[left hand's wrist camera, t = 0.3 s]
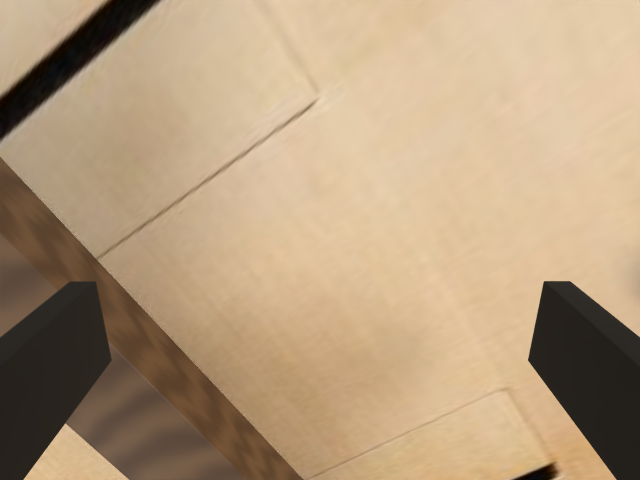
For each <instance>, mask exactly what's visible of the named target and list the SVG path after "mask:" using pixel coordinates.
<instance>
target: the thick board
mask: <svg viewBox="0 0 640 480" xmlns="http://www.w3.org/2000/svg"><path fill="white" fill-rule="evenodd" d="M70 281H96V284H97V289H98V294H99V299H100V304H101V309H102V313H103V318H104V323H105V328H106V333H107V338H108V343H109V348H110V353H111V358H112V361H111V362H110V364H109V365H108V366H107V368H106V369H105V370H104V372H103V373H102V374H101V376H100V377H99V378H98V380H97V381H96V382H95V384H94V385H93V386H92V388H91V389H90V391H89V392H88V393H87V395H86V396H85V397H84V399H83V400H82V401H81V403H80V404H79V405H78V407H77V408H76V409H75V411H74V412H73V413H72V415H71V416H70V417H69V419H68V420H67V421H66V424H67V425H68V426H69V427H70V428H72V429H73V430H74V431H75V432H76V433H77V434H78V435H79V436H81V437H82V438H83V439H84V440H85V441H86V442H87V443H88V444H90V445H91V446H92V447H93V448H94V449H95V450H96V451H98V452H99V453H100V454H101V455H102V456H103V457H104V458H105V459H107V460H108V461H109V462H110V463H111V464H112V465H113V466H114V467H116V468H117V469H118V470H119V471H120V472H121V473H122V474H124V475H125V476H126V477H127V478H128V479H129V480H303V479H302V478H301V477H300V476H299V475H298V474H297V473H296V472H295V471H294V470H293V469H292V468H291V466H290V465H289V464H288V463H287V462H286V461H285V460H284V459H283V458H282V457H281V456H280V455H279V454H278V453H277V452H276V450H275V449H274V448H273V447H272V446H271V445H270V444H269V443H268V442H267V441H266V440H265V439H264V438H263V437H262V436H261V435H260V433H259V432H258V431H257V430H256V429H255V428H254V427H253V426H252V425H251V424H250V423H249V422H248V421H247V420H246V419H245V417H244V416H243V415H242V414H241V413H240V412H239V411H238V410H237V409H236V408H235V407H234V406H233V405H232V404H231V403H230V402H229V400H228V399H227V398H226V397H225V396H224V395H223V394H222V393H221V392H220V391H219V390H218V389H217V388H216V387H215V386H214V384H213V383H212V382H211V381H210V380H209V379H208V378H207V377H206V376H205V375H204V374H203V373H202V372H201V371H200V370H199V369H198V367H197V366H196V365H195V364H194V363H193V362H192V361H191V360H190V359H189V358H188V357H187V356H186V355H185V354H184V353H183V351H182V350H181V349H180V348H179V347H178V346H177V345H176V344H175V343H174V342H173V341H172V340H171V339H170V338H169V337H168V336H167V334H166V333H165V332H164V331H163V330H162V329H161V328H160V327H159V326H158V325H157V324H156V323H155V322H154V321H153V320H152V318H151V317H150V316H149V315H148V314H147V313H146V312H145V311H144V310H143V309H142V308H141V307H140V306H139V305H138V304H137V303H136V301H135V300H134V299H133V298H132V297H131V296H130V295H129V294H128V293H127V292H126V291H125V290H124V289H123V288H122V287H121V285H120V284H119V283H118V282H117V281H116V280H115V279H114V278H113V277H112V276H111V275H110V274H109V273H108V272H107V271H106V270H105V268H104V267H103V266H102V265H101V264H100V263H99V262H98V261H97V260H96V259H95V258H94V257H93V256H92V255H91V254H90V252H89V251H88V250H87V249H86V248H85V247H84V246H83V245H82V244H81V243H80V242H79V241H78V240H77V239H76V238H75V237H74V235H73V234H72V233H71V232H70V231H69V230H68V229H67V228H66V227H65V226H64V225H63V224H62V223H61V222H60V221H59V220H58V218H57V217H56V216H55V215H54V214H53V213H52V212H51V211H50V210H49V209H48V208H47V207H46V206H45V205H44V204H43V202H42V201H41V200H40V199H39V198H38V197H37V196H36V195H35V194H34V193H33V192H32V191H31V190H30V189H29V188H28V187H27V185H26V184H25V183H24V182H23V181H22V180H21V179H20V178H19V177H18V176H17V175H16V174H15V173H14V172H13V171H12V169H11V168H10V167H9V166H8V165H7V164H6V163H5V162H4V161H3V160H2V159H1V158H0V337H1V336H3V335H4V334H5V333H6V332H8V331H9V330H10V329H11V328H12V327H14V326H15V325H16V324H17V323H19V322H20V321H21V320H22V319H24V318H25V317H26V316H27V315H29V314H30V313H31V312H32V311H34V310H35V309H36V308H37V307H39V306H40V305H41V304H42V303H44V302H45V301H46V300H47V299H49V298H50V297H51V296H52V295H54V294H55V293H56V292H57V291H59V290H60V289H61V288H62V287H63V286H65V285H66V284H67V283H68V282H70Z"/></svg>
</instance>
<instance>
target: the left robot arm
mask: <svg viewBox="0 0 640 480" xmlns="http://www.w3.org/2000/svg"><path fill="white" fill-rule="evenodd" d="M111 361H112V358H111V353H110V348H109V343H108V338H107V333H106V328H105V323H104V318H103V313H102V309H101V304H100V299H99V294H98V289H97V284H96V281H70V282H68V283H67V284H66V285H65V286H63V287H62V288H61V289H60V290H59V291H57V292H56V293H55V294H54V295H52V296H51V297H50V298H49V299H47V300H46V301H45V302H44V303H42V304H41V305H40V306H39V307H37V308H36V309H35V310H34V311H32V312H31V313H30V314H29V315H27V316H26V317H25V318H24V319H22V320H21V321H20V322H19V323H17V324H16V325H15V326H14V327H12V328H11V329H10V330H9V331H8V332H6V333H5V334H4V335H3V336H1V337H0V480H23V479H24V478H25V477H26V475H27V474H28V473H29V471H30V470H31V469H32V467H33V466H34V465H35V463H36V462H37V461H38V459H39V458H40V456H41V455H42V454H43V452H44V451H45V450H46V448H47V447H48V446H49V444H50V443H51V442H52V440H53V439H54V438H55V436H56V435H57V434H58V432H59V431H60V430H61V428H62V427H63V426H64V424H65V423H66V421H67V420H68V419H69V417H70V416H71V415H72V413H73V412H74V411H75V409H76V408H77V407H78V405H79V404H80V403H81V401H82V400H83V399H84V397H85V396H86V395H87V393H88V392H89V391H90V389H91V388H92V386H93V385H94V384H95V382H96V381H97V380H98V378H99V377H100V376H101V374H102V373H103V372H104V370H105V369H106V368H107V366H108V365H109V364H110V362H111ZM528 361H529V362H530V364H531V365H532V366H533V368H534V369H535V370H536V372H537V373H538V374H539V376H540V377H541V378H542V380H543V381H544V382H545V384H546V385H547V386H548V388H549V389H550V391H551V392H552V393H553V395H554V396H555V397H556V399H557V400H558V401H559V403H560V404H561V405H562V407H563V408H564V409H565V411H566V412H567V413H568V415H569V416H570V417H571V419H572V420H573V421H574V423H575V424H576V426H577V427H578V428H579V430H580V431H581V432H582V434H583V435H584V436H585V438H586V439H587V440H588V442H589V443H590V444H591V446H592V447H593V448H594V450H595V451H596V452H597V454H598V455H599V456H600V458H601V459H602V461H603V462H604V463H605V465H606V466H607V467H608V469H609V470H610V471H611V473H612V474H613V475H614V477H615V478H616V479H617V480H640V337H639V336H637V335H636V334H635V333H634V332H632V331H631V330H630V329H629V328H628V327H626V326H625V325H624V324H623V323H621V322H620V321H619V320H618V319H616V318H615V317H614V316H613V315H611V314H610V313H609V312H608V311H606V310H605V309H604V308H603V307H601V306H600V305H599V304H598V303H596V302H595V301H594V300H593V299H591V298H590V297H589V296H588V295H586V294H585V293H584V292H583V291H581V290H580V289H579V288H578V287H577V286H575V285H574V284H573V283H572V282H570V281H544V284H543V289H542V294H541V299H540V304H539V309H538V313H537V318H536V323H535V328H534V333H533V338H532V343H531V348H530V353H529V358H528Z"/></svg>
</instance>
